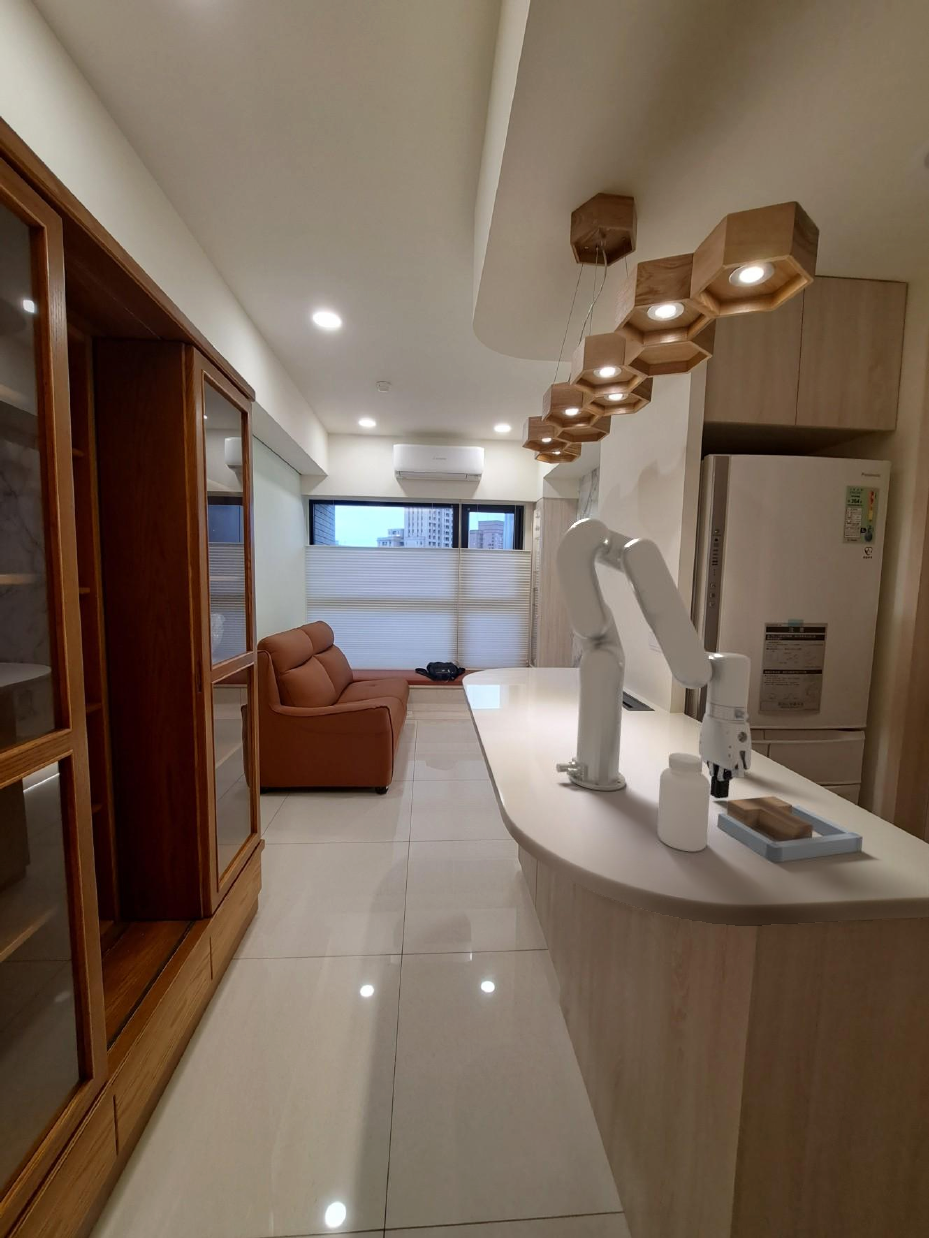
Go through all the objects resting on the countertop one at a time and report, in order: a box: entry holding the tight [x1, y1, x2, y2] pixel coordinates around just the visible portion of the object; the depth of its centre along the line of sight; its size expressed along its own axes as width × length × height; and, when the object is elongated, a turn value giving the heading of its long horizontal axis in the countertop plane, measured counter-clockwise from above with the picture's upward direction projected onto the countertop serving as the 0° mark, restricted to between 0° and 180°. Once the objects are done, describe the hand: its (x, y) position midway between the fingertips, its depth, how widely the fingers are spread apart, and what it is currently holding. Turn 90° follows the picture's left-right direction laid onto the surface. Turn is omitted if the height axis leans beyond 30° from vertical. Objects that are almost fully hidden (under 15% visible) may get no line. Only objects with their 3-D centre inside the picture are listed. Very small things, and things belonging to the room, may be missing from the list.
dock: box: [716, 805, 863, 864], centre depth 85 cm, size 19×12×2 cm, turn 104°
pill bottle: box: [657, 752, 711, 852], centre depth 83 cm, size 8×8×15 cm
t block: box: [726, 795, 814, 842], centre depth 87 cm, size 11×11×4 cm
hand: (719, 796), depth 100 cm, fingers closed
